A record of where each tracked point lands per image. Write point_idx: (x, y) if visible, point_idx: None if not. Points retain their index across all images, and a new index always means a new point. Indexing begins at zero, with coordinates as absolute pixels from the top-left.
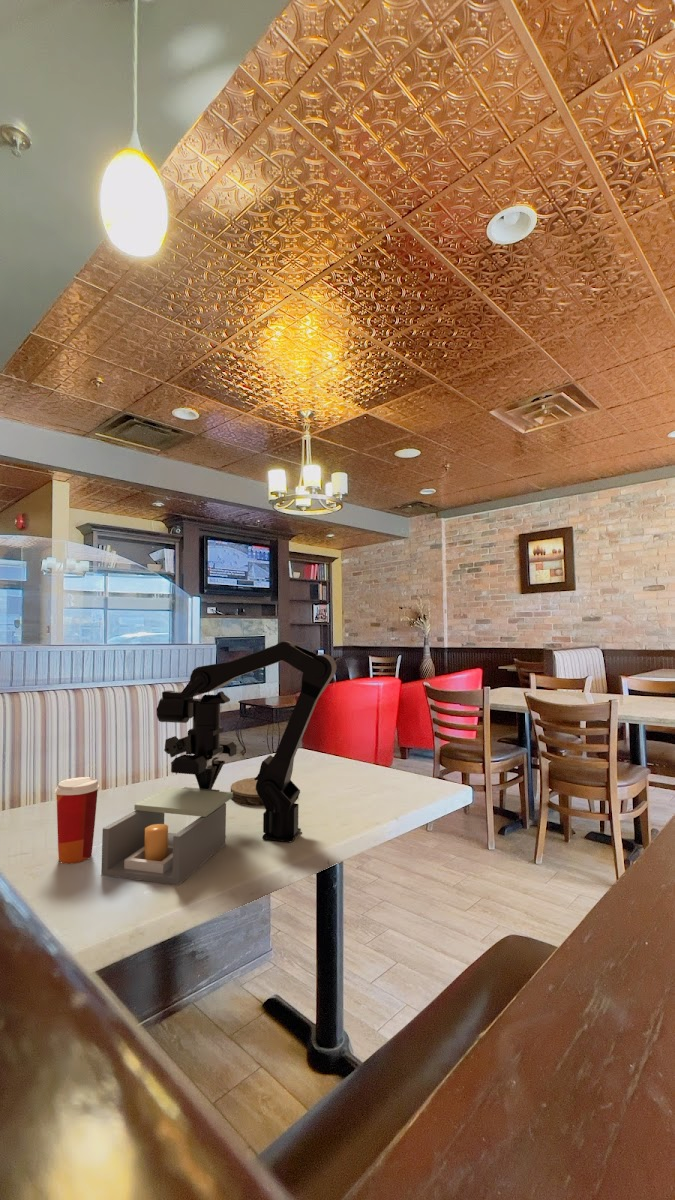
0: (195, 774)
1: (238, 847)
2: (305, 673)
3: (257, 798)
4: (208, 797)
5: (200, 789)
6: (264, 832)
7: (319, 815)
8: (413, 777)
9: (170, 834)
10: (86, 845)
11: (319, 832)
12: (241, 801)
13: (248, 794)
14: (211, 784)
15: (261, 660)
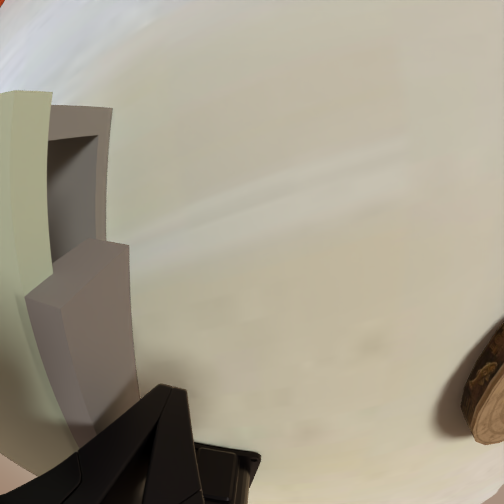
0: (5, 498)
1: None
2: None
3: (478, 395)
4: (10, 441)
5: (74, 429)
6: (199, 449)
7: (353, 490)
8: (488, 496)
9: (82, 178)
10: None
11: (248, 497)
12: (502, 336)
13: (498, 379)
14: (142, 495)
15: None
